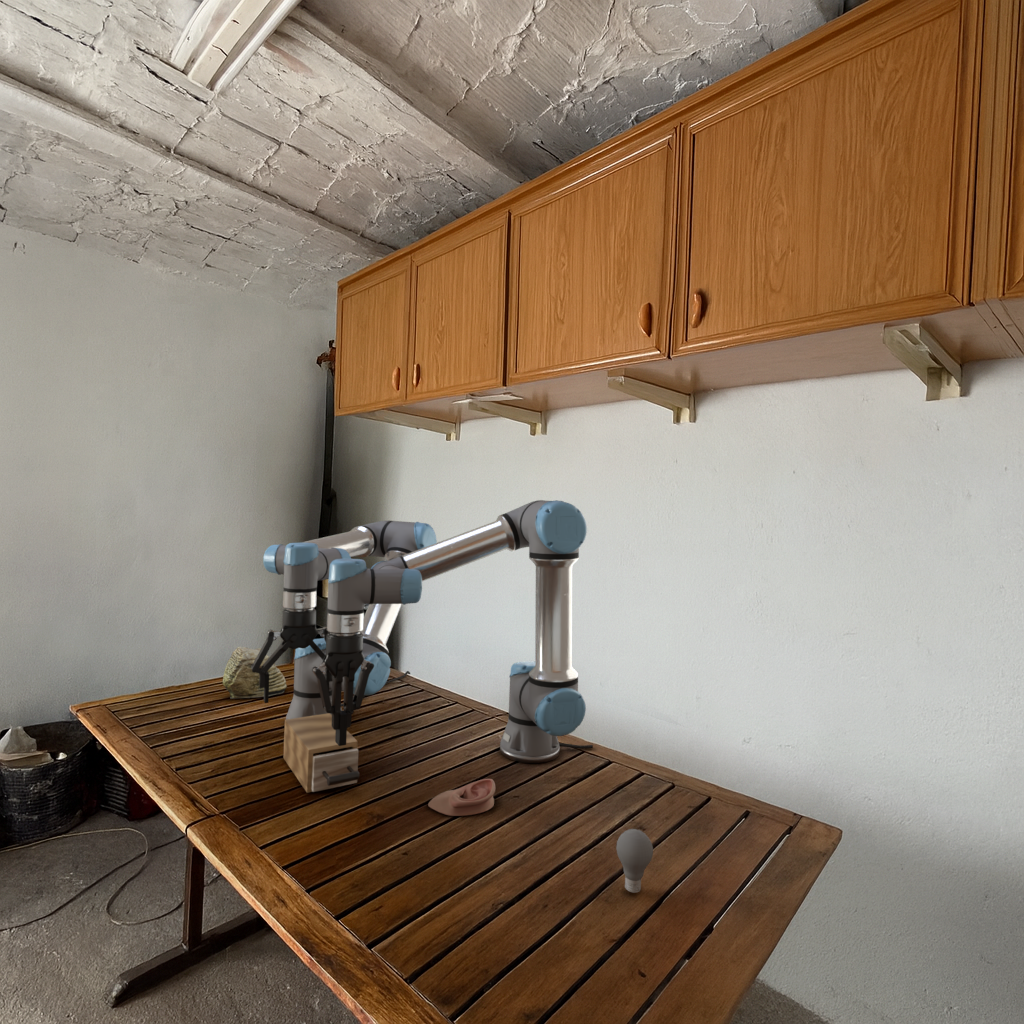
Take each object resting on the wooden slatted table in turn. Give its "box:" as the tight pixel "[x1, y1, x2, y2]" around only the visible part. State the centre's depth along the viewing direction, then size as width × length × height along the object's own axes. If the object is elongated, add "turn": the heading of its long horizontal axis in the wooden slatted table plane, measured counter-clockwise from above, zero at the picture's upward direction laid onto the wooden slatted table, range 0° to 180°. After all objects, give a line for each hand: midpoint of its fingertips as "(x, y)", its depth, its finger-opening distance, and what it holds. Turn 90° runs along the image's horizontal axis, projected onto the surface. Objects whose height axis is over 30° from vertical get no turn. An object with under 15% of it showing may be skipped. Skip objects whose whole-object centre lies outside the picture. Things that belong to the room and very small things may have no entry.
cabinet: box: [282, 713, 358, 793], centre depth 147 cm, size 20×11×9 cm, turn 33°
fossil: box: [222, 646, 288, 699], centre depth 198 cm, size 9×18×15 cm, turn 132°
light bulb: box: [615, 828, 654, 894], centre depth 106 cm, size 6×6×10 cm
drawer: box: [312, 747, 360, 793], centre depth 142 cm, size 24×10×7 cm, turn 33°
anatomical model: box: [427, 778, 496, 817], centre depth 133 cm, size 13×4×12 cm
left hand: (296, 698), depth 149 cm, fingers open, 13 cm apart
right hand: (340, 743), depth 134 cm, fingers closed
